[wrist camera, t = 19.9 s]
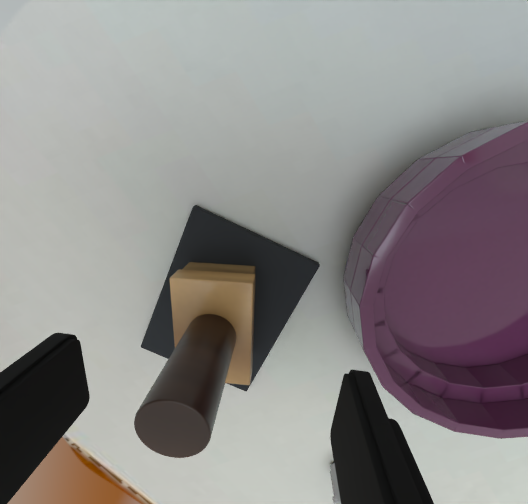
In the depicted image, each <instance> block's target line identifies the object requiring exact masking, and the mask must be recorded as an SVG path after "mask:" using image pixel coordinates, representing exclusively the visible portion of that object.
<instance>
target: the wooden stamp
mask: <svg viewBox="0 0 528 504" xmlns="http://www.w3.org/2000/svg"><path fill="white" fill-rule="evenodd" d="M255 268H256V267H255V266H246V265H230V264H213V263H197V262H189V263H188V264H187V265H186V266H185V267H184V268H183V269H182V270H181V269H179V270H177V271H176V272H175V273H174V274H173V275H172V276H171V277H170V292H171V304H172V317H173V330H174V343H175V349H174V351H173V353H172V354H171V356H170V358H169V359H168V361H167V363H166V364H165V366H164V368H163V369H162V371H161V373H160V374H159V376H158V378H157V379H156V381H155V383H154V385H153V386H152V388H151V390H150V391H149V393H148V395H147V396H146V398H145V400H144V401H143V403H142V405H141V406H140V408H139V410H138V411H137V413H136V416H135V421H134V425H135V430H136V433H137V435H138V437H139V438H140V440H141V441H142V442H143V443H144V444H145V445H146V446H147V447H149V448H150V449H151V450H153V451H155V452H157V453H159V454H162V455H165V456H169V457H175V458H184V457H190V456H193V455H196V454H198V453H199V452H201V451H202V450H203V449H204V448H205V447H206V446H207V444H208V443H209V441H210V438H211V434H212V430H213V426H214V422H215V419H216V415H217V411H218V407H219V404H220V400H221V396H222V392H223V389H224V385H225V383H230V384H241V385H250V382H251V375H252V364H253V334H254V304H255Z"/></svg>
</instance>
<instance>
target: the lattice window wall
mask: <svg viewBox="0 0 528 504" xmlns="http://www.w3.org/2000/svg"><path fill="white" fill-rule="evenodd" d="M330 467H331V471H330V474H331V480H332V486H333V492H334V495H335V496H333V500H334V504H341V500H340V494H339V488H338V482H337V476H336V470H335V464H334V463H333V464H331V465H330Z"/></svg>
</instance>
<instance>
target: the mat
mask: <svg viewBox="0 0 528 504" xmlns="http://www.w3.org/2000/svg"><path fill="white" fill-rule="evenodd" d="M189 262H197V263H213V264H230V265H246V266H255V267H256V268H255V304H254V334H253V364H252V375H251V382H250V384H251V383H252V381H253V379H254V378H255V376H256V374H257V372H258V371H259V369H260V367H261V365H262V364H263V362H264V360H265V359H266V357H267V355H268V353H269V352H270V350H271V348H272V347H273V345H274V343H275V341H276V340H277V338H278V336H279V335H280V333H281V331H282V329H283V328H284V326H285V324H286V322H287V321H288V319H289V317H290V316H291V314H292V312H293V310H294V309H295V307H296V305H297V304H298V302H299V300H300V298H301V297H302V295H303V293H304V291H305V290H306V288H307V286H308V285H309V283H310V281H311V279H312V278H313V276H314V274H315V273H316V271H317V269H318V267H319V263H318V262H316V261H314V260H311V259H309V258H307V257H305V256H303V255H301V254H299V253H297V252H294V251H292V250H290V249H288V248H286V247H284V246H282V245H280V244H277V243H275V242H273V241H271V240H269V239H267V238H265V237H263V236H260V235H258V234H256V233H254V232H252V231H250V230H248V229H246V228H243V227H241V226H239V225H237V224H235V223H233V222H231V221H229V220H226V219H224V218H222V217H220V216H218V215H216V214H214V213H212V212H209V211H207V210H205V209H203V208H201V207H199V206H197V205H195V206H193V208H192V211H191V214H190V216H189V219H188V222H187V224H186V227H185V230H184V232H183V235H182V238H181V240H180V243H179V246H178V248H177V251H176V254H175V256H174V259H173V262H172V264H171V267H170V270H169V272H168V275H167V278H166V281H165V283H164V286H163V289H162V291H161V294H160V297H159V299H158V302H157V305H156V307H155V310H154V313H153V315H152V318H151V321H150V323H149V326H148V329H147V331H146V334H145V337H144V339H143V342H142V345H141V347H142V348H144V349H146V350H149V351H151V352H154V353H156V354H158V355H161V356H163V357H165V358H168V359H169V358H170V356H171V354H172V353H173V351H174V349H175V343H174V330H173V317H172V304H171V292H170V277H171V276H172V275H173V274H174V273H175V272H176V271H177V270H179V269H181V270H182V269H183V268H184V267H185V266H186V265H187V264H188V263H189ZM227 384H230V383H227ZM230 385H232V386H234V387H237V388H239V389H242V390H244V391H247V390H248V388H249V386H250V385H241V384H230Z"/></svg>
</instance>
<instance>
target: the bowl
mask: <svg viewBox="0 0 528 504" xmlns="http://www.w3.org/2000/svg"><path fill="white" fill-rule="evenodd" d="M344 287H345V296H346V305H347V314H348V317H349V319H350V321H351V324H352V326H353V328H354V330H355V332H356V335H357V337H358V339H359V341H360V344H361V346H362V348H363V350H364V352H365V354H366V356H367V358H368V360H369V362H370V364H371V366H372V368H373V369H374V371H375V373H376V375H377V377H378V379H379V381H380V383H381V385H382V386H383V387H384V388H385V389H386V390H387V391H388V392H389V393H390V394H391V395H393V396H394V397H395V398H396V399H397V400H398V401H399V402H400V403H402V404H403V405H404V406H405V407H406V408H407V409H408V410H410V411H411V412H412V413H413V414H415V415H417V416H420V417H422V418H424V419H427V420H429V421H431V422H433V423H436V424H438V425H440V426H443V427H445V428H447V429H450V430H452V431H454V432H460V433H467V434H474V435H480V436H487V437H493V438H501V439H502V438H516V437H528V121H523V122H518V123H513V124H508V125H503V126H498V127H493V128H488V129H483V130H478V131H473V132H469V133H467V134H465V135H463V136H461V137H459V138H457V139H455V140H454V141H452V142H450V143H448V144H446V145H444V146H442V147H440V148H438V149H436V150H434V151H432V152H430V153H429V154H427V155H425V156H423V157H421V158H419V159H418V160H416V161H415V162H414V163H413V164H412V165H411V166H410V167H409V168H408V169H407V170H406V171H405V172H403V173H402V174H401V175H400V176H399V177H398V178H397V179H396V180H395V181H394V182H393V183H392V184H391V185H389V186H388V187H387V188H386V189H385V190H384V191H383V192H382V193H381V194H380V195H379V196H378V197H377V198H376V200H375V202H374V203H373V205H372V207H371V208H370V210H369V212H368V213H367V215H366V217H365V218H364V220H363V222H362V223H361V225H360V227H359V228H358V230H357V232H356V233H355V235H354V238H353V240H352V244H351V249H350V253H349V257H348V261H347V265H346V270H345V274H344Z"/></svg>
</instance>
